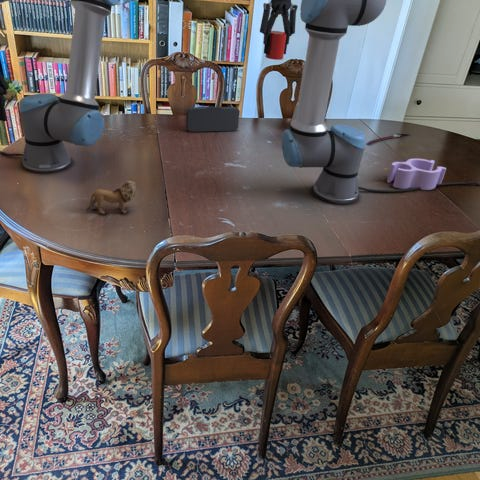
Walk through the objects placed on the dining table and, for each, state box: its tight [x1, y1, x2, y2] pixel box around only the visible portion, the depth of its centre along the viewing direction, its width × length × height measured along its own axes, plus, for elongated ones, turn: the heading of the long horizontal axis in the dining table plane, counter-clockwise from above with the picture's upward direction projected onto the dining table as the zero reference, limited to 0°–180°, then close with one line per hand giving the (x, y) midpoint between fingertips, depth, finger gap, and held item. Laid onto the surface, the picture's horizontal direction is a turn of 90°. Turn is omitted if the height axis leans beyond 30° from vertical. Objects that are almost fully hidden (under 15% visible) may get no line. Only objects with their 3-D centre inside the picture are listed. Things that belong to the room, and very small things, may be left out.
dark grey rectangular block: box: [185, 106, 241, 133], centre depth 199 cm, size 23×3×10 cm, turn 108°
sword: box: [367, 133, 409, 145], centre depth 213 cm, size 31×3×1 cm, turn 126°
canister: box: [265, 30, 286, 61], centre depth 177 cm, size 7×7×9 cm
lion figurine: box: [85, 180, 137, 215], centre depth 135 cm, size 15×5×9 cm, turn 110°
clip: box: [386, 157, 447, 191], centre depth 173 cm, size 20×12×7 cm, turn 109°
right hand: (274, 53), depth 178 cm, fingers closed on canister, 7 cm apart
